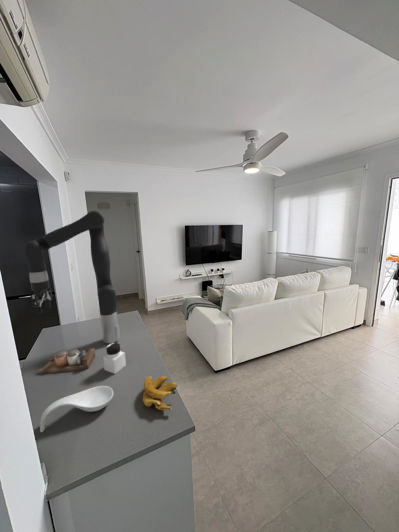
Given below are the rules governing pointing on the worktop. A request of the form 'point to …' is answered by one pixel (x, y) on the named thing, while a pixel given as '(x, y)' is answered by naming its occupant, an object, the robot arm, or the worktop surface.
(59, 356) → the terracotta jar
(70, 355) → the cream jar
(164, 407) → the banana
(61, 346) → the worktop surface
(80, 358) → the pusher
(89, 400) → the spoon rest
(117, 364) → the medicine bottle
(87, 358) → the lane
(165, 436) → the worktop surface
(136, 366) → the worktop surface
